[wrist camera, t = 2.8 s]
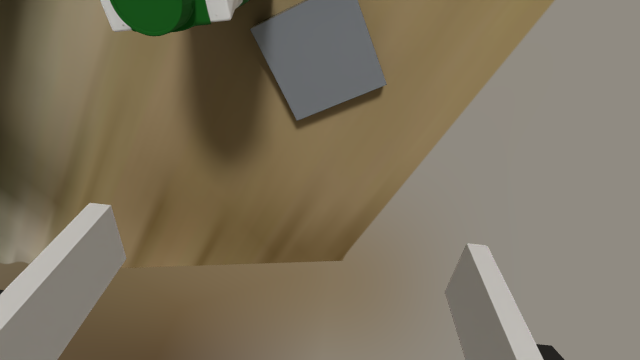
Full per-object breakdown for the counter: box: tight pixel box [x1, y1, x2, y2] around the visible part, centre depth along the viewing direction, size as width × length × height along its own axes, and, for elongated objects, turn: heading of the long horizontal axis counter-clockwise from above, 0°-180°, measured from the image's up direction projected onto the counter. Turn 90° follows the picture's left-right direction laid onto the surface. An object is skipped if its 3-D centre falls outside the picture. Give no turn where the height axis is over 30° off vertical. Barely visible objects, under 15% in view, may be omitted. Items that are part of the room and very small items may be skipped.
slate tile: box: [250, 0, 387, 120], centre depth 38 cm, size 11×11×2 cm
